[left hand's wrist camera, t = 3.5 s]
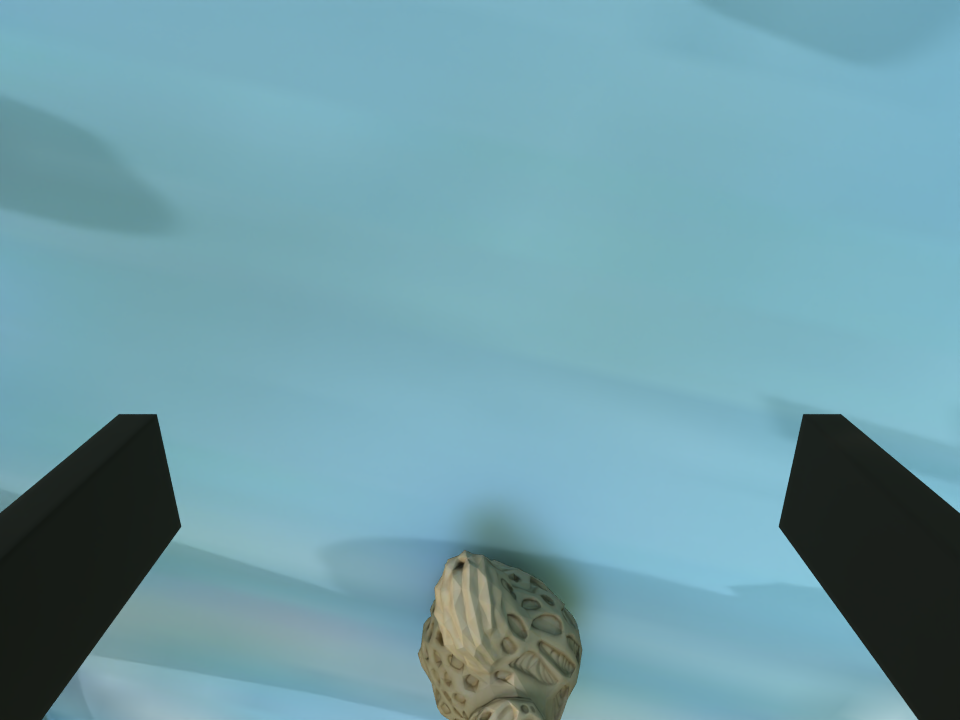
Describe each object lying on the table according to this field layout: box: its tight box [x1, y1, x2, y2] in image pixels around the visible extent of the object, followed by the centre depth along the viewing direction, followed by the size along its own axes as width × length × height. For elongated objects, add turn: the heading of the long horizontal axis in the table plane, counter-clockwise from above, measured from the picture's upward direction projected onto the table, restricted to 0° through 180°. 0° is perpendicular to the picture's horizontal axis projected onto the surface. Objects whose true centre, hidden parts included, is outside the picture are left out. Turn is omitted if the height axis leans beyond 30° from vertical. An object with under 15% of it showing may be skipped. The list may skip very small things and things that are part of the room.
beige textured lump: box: [418, 550, 582, 720], centre depth 43 cm, size 21×12×15 cm, turn 13°
